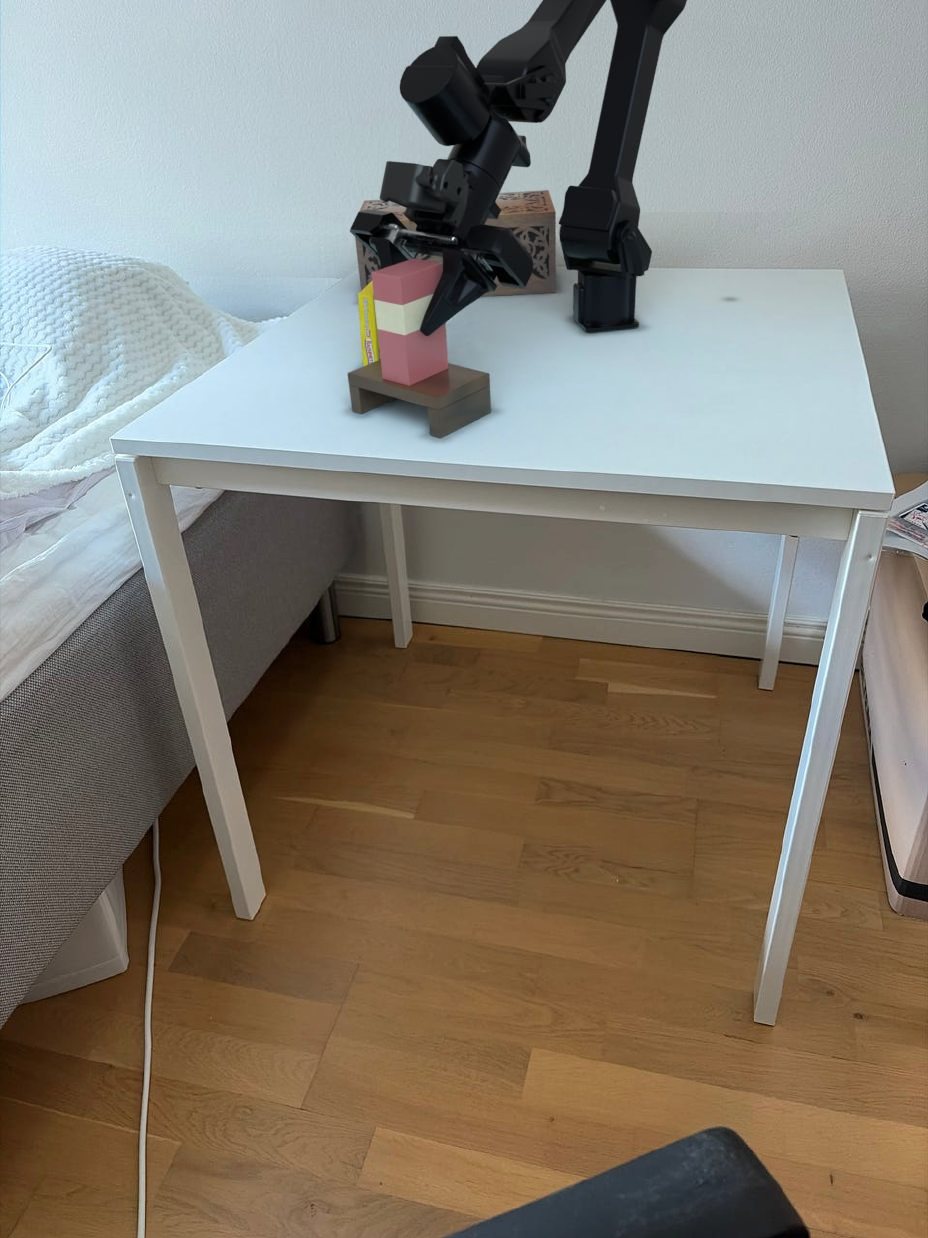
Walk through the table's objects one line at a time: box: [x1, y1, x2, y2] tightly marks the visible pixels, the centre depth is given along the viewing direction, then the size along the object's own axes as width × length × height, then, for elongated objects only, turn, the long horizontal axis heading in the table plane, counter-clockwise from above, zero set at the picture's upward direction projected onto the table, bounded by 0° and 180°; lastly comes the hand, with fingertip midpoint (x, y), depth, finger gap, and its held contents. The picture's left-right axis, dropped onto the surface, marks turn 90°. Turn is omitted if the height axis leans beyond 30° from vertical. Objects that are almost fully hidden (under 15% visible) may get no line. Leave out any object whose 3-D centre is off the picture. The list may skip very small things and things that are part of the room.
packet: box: [372, 258, 449, 386], centre depth 90 cm, size 6×4×10 cm, turn 139°
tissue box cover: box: [354, 189, 557, 297], centre depth 131 cm, size 26×14×10 cm, turn 89°
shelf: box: [347, 359, 492, 439], centre depth 94 cm, size 8×12×4 cm, turn 49°
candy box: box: [357, 281, 381, 367], centre depth 110 cm, size 16×2×8 cm, turn 168°
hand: (401, 328), depth 89 cm, fingers open, 5 cm apart
